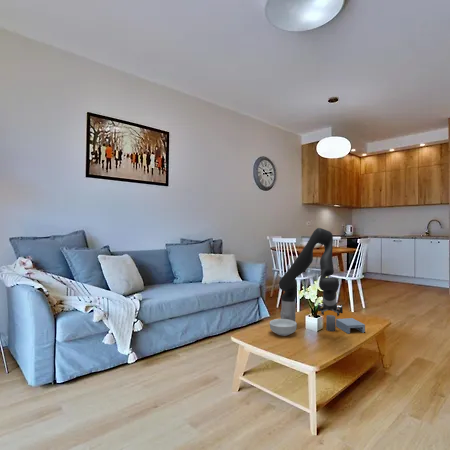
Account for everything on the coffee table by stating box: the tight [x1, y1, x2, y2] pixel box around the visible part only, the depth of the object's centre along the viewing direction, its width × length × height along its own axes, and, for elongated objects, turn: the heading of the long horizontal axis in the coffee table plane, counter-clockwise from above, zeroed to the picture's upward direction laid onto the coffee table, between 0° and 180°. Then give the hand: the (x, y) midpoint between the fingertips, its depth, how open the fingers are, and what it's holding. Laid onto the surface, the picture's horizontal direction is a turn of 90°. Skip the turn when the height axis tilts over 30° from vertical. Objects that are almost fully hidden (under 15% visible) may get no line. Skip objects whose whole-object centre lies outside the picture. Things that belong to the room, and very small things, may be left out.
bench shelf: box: [335, 317, 366, 334], centre depth 200 cm, size 12×14×5 cm
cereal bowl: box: [269, 318, 298, 337], centre depth 193 cm, size 17×17×7 cm
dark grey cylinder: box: [325, 314, 336, 332], centre depth 199 cm, size 6×6×9 cm
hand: (330, 314), depth 191 cm, fingers open, 8 cm apart
